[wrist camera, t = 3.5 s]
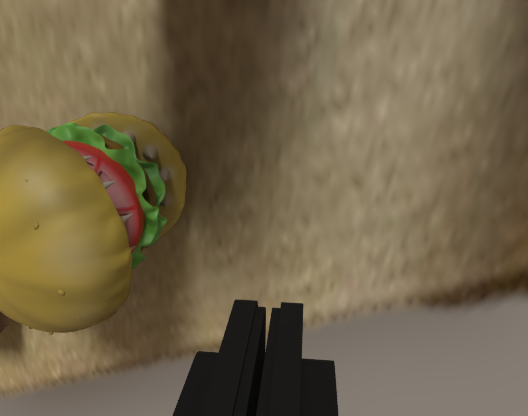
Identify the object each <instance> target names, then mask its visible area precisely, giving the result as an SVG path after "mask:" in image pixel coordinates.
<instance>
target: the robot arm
mask: <svg viewBox="0 0 528 416" xmlns="http://www.w3.org/2000/svg"><path fill="white" fill-rule="evenodd" d="M302 331H303V304H302V303H286V302H281V308H272V313H271V319H270V326H269V332H268V339H267V346H266V352H265V335H266V308H265V307H258V302H257V301H252V300H235V301H234V304H233V307H232V311H231V314H230V317H229V321H228V324H227V327H226V330H225V334H224V337H223V340H222V343H221V347H220V350H219V353H216V352H202V351H198V352H197V353H196V355H195V358H194V360H193V363H192V366H191V368H190V371H189V374H188V376H187V379H186V382H185V384H184V387H183V390H182V392H181V395H180V397H179V400H178V403H177V405H176V408H175V411H174V413H173V416H338V404H337V391H336V378H335V365H334V361H329V360H315V359H302Z"/></svg>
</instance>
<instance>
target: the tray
mask: <svg viewBox="0 0 528 416" xmlns="http://www.w3.org/2000/svg"><path fill="white" fill-rule="evenodd" d="M12 321H13V320H12V319H11V318H9V317H7V316H6V315H4V314H3V313H2V312H1V311H0V332H1V331H2V330H3V329H4V328H6V327H7V326H8V325H9V324H10V323H11V322H12Z"/></svg>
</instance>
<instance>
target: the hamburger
mask: <svg viewBox="0 0 528 416" xmlns="http://www.w3.org/2000/svg"><path fill="white" fill-rule="evenodd" d="M186 176H187V170H186V167H185V165H184V163H183V161H182V160H181V158H180V153H179V151H178V150H177V149H176V148H175V147H174V146H173V144H172V143H171V142H170V140H169V139H168V137H167V136H166V135H165V134H163V133H162V132H160V131H159V129H158V128H157V127H156V126H155V125H154V124H152V123H150V122H148V121H144V120H140V119H139V118H137V117H136V116H133V115H125V114H119V113H114V112H110V113H105V114H104V113H91V114H88V115H86V116H85V117H83V118H81V119H77V120H73V121H72V122H70V123H66V124H63V125H61V126H59V127H56V128H51V129H49V130H48V131H47V132H45V131H44V130H42V129H39V128H35V127H27V126H18V125H16V126H8V127H5V128H3V129H1V130H0V311H1V312H2V313H3V314H4V315H6V316H7V317H9V318H11V319H12V320H14V321H16V322H18V323H20V324H23V325H25V326H28V327H29V329H32V328H33V329H37V330H41V331H46V332H49V334H50V335H52V334H53V332H59V333H65V332H74V331H78V330H82V329H85V328H88V327H91V326H93V325H95V324H98V323H100V322H102V321H104V320H106V319H108V318H109V317H111V316H112V315H113V314H115V313H116V311H117V310H118V309H119V307H120V306H122V305H123V303H124V302H125V301H126V299H127V297H128V294H129V288H130V281H131V270H132V269H134V268H135V267H136V266H137V265H138V264H139V263H140V262H141V261H143V260H144V259H145V258H146V257H145V256H144V255H143V254H142V252H141V251H142V250H143V249H144V248H146V247H149V246H151V245H152V244H153V243H155V242H156V241H157V239H159V238H160V237H161V236H163V235H164V234H165V233H166V232H167V231H168V230H169V229H170V228H171V227H172V226H173V225H174V224H175V223H176V222H177V221H178V219H179V217H180V213H181V210H182V209H183V207H184V205H185V192H186V188H187V182H186Z"/></svg>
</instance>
